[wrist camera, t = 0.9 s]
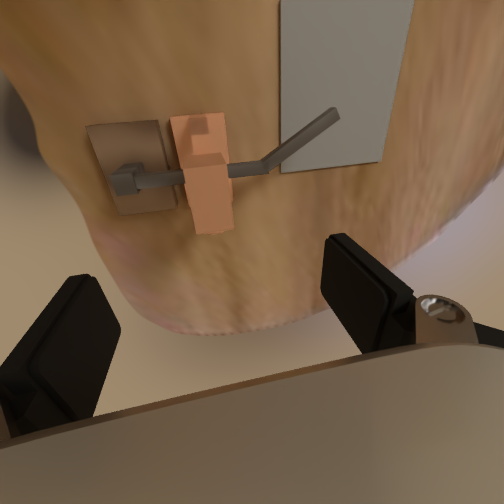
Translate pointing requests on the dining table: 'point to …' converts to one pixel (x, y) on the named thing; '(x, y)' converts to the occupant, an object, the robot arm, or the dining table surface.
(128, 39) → the dining table surface
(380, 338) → the robot arm
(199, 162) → the orange block
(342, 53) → the mat
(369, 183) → the dining table surface
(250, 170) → the stand
